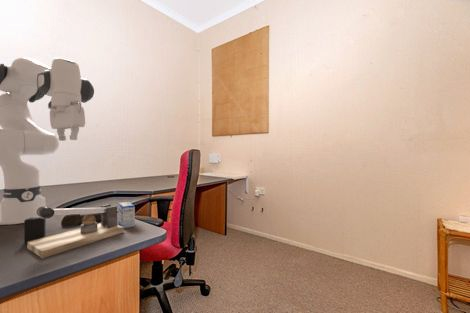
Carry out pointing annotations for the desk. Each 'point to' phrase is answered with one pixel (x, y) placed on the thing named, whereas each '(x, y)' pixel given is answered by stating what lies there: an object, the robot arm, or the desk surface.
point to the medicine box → (126, 214)
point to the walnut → (88, 219)
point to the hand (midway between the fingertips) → (67, 140)
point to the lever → (68, 211)
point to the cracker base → (78, 235)
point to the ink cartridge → (34, 229)
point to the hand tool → (76, 219)
